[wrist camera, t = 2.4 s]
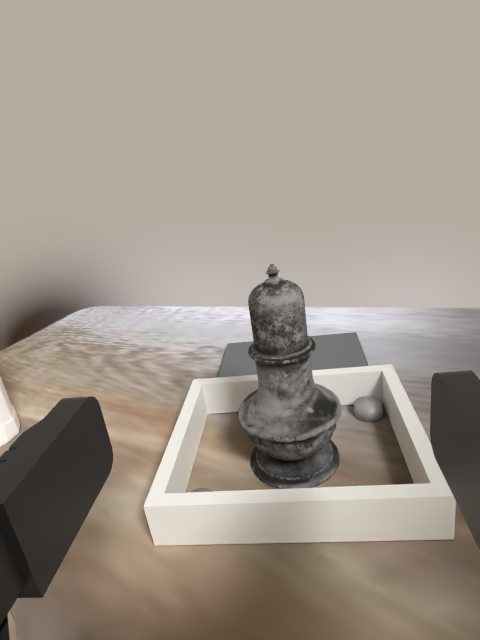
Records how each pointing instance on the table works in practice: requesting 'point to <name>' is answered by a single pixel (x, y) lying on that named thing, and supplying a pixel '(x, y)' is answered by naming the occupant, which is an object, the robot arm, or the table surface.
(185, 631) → the table surface
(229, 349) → the rubber mat
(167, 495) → the frame
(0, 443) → the jar
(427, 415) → the table surface
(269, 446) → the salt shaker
